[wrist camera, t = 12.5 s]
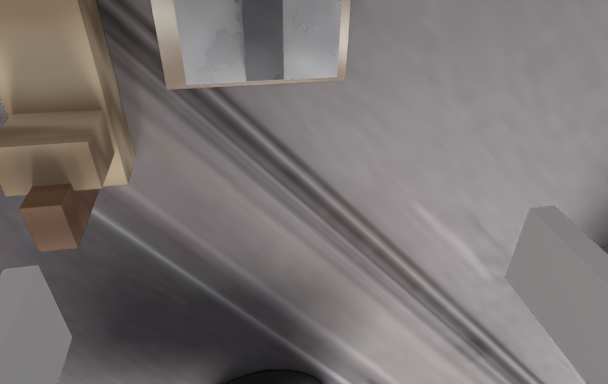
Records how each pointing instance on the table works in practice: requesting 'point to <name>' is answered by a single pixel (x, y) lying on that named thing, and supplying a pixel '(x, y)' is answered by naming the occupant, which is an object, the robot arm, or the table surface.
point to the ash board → (176, 80)
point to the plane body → (59, 116)
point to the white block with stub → (258, 39)
